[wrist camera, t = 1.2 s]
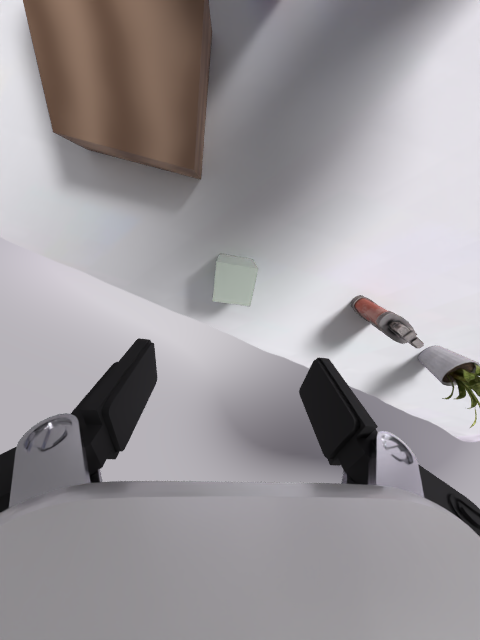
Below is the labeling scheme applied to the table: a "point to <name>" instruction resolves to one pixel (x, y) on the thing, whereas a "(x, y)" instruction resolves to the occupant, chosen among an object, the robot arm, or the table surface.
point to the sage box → (234, 280)
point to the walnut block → (127, 76)
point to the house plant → (453, 371)
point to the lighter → (386, 321)
